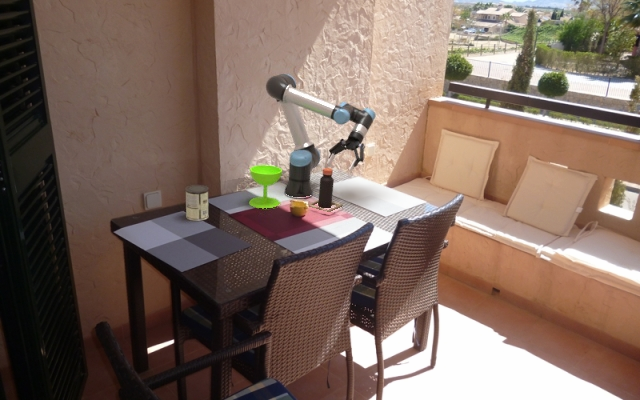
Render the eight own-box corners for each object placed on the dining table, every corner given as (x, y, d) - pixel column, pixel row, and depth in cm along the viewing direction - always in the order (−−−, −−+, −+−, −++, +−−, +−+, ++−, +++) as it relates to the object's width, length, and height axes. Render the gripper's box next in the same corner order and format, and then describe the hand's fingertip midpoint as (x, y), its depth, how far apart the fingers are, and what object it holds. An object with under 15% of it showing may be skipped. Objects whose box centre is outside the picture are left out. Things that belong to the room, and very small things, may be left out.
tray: (307, 209, 258) (307, 204, 258) (321, 202, 269) (321, 198, 268) (328, 215, 252) (329, 211, 251) (342, 209, 262) (342, 204, 262)
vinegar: (316, 205, 262) (319, 167, 255) (328, 204, 264) (331, 167, 258) (320, 210, 256) (324, 171, 249) (333, 209, 258) (336, 171, 252)
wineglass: (278, 210, 254) (280, 175, 248) (246, 207, 254) (247, 173, 248) (281, 199, 269) (283, 166, 263) (251, 197, 269) (252, 164, 263)
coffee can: (190, 211, 244) (189, 183, 239) (211, 214, 243) (211, 185, 238) (182, 219, 234) (182, 190, 229) (204, 222, 233) (204, 192, 229)
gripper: (380, 143, 263) (362, 177, 257) (340, 134, 276) (321, 166, 270) (376, 135, 257) (357, 169, 251) (335, 126, 271) (316, 158, 264)
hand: (338, 168), depth 260 cm, fingers open, 13 cm apart
